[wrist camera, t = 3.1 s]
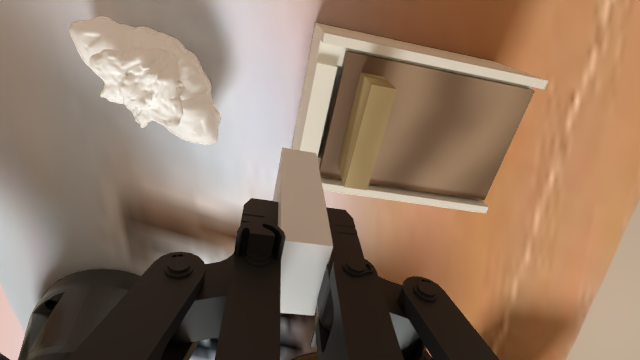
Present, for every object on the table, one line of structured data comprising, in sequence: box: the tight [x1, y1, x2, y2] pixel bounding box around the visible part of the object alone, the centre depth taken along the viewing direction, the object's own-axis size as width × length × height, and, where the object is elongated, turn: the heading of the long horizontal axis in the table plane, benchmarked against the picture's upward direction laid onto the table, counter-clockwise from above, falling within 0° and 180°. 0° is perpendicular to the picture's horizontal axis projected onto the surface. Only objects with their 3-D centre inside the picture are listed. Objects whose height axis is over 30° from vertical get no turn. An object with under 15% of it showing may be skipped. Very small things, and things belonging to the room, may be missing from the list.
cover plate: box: [319, 50, 534, 200], centre depth 27 cm, size 14×9×4 cm, turn 78°
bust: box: [69, 16, 221, 145], centre depth 27 cm, size 12×8×11 cm
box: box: [292, 22, 548, 213], centre depth 31 cm, size 16×11×7 cm
